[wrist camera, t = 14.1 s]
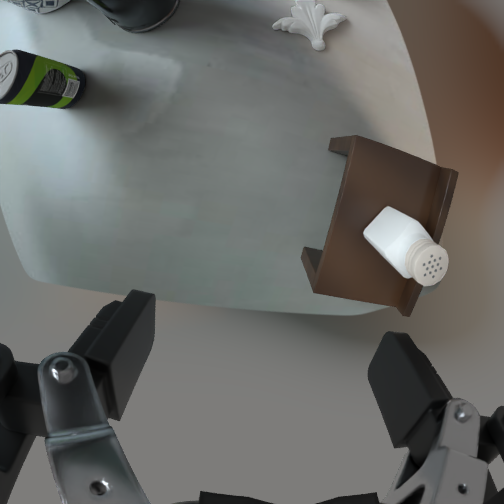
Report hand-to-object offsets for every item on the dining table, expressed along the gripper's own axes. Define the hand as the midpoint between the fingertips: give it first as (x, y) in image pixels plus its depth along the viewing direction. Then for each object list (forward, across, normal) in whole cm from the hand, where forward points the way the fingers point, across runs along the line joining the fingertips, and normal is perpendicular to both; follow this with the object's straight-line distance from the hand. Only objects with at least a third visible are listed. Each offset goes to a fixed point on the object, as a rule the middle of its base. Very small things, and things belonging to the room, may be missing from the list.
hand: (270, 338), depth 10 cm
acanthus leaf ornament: (+30, -2, -24) cm, 38 cm away
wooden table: (+29, -12, -1) cm, 32 cm away
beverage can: (+30, +29, -12) cm, 43 cm away
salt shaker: (+19, -12, -1) cm, 23 cm away
